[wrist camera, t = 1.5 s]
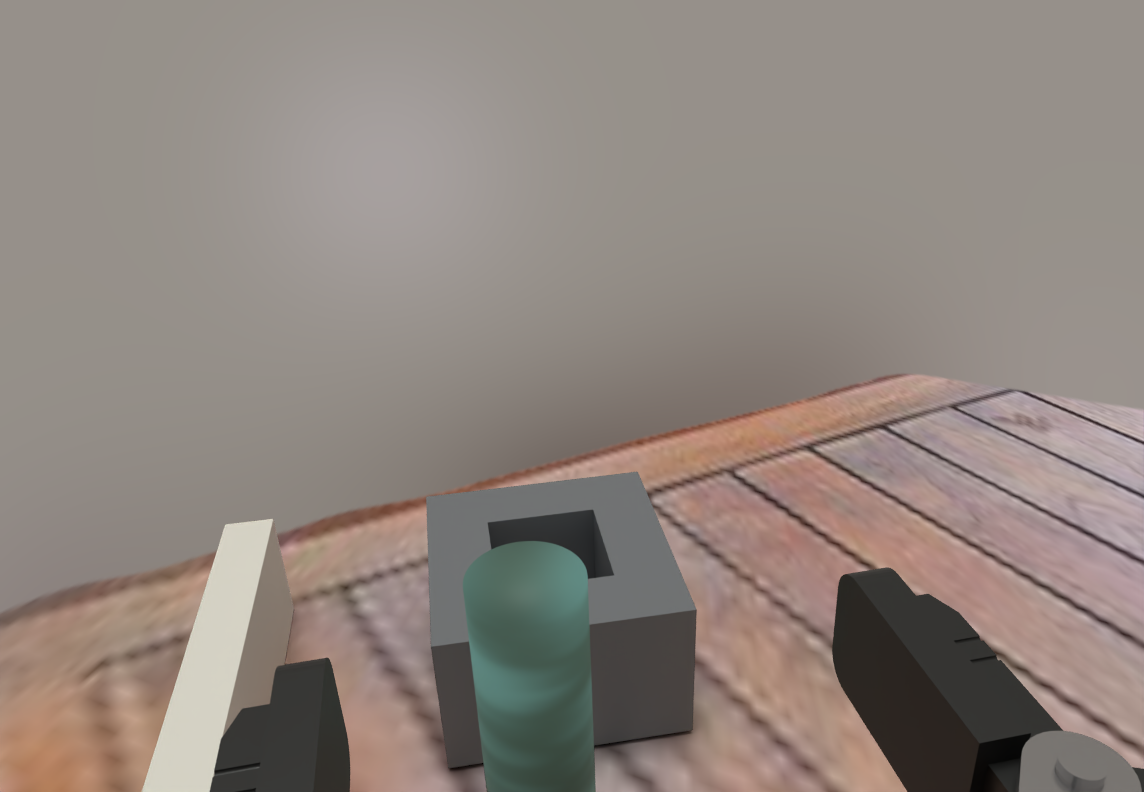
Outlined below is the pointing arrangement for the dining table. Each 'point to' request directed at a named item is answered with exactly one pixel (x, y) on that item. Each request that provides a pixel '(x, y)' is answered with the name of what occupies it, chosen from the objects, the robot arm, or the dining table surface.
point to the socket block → (615, 592)
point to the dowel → (532, 667)
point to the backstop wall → (225, 656)
